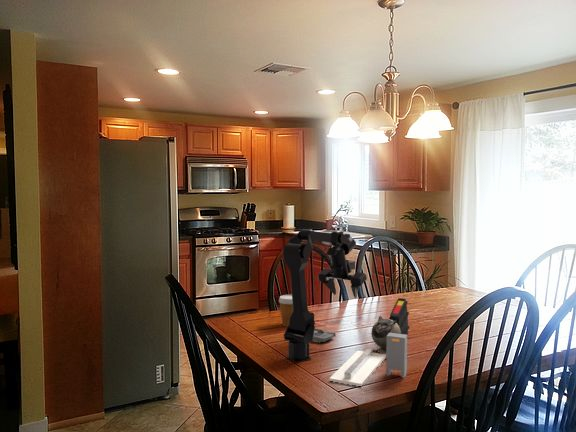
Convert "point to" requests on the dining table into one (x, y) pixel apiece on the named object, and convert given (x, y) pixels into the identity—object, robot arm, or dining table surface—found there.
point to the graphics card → (321, 335)
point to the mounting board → (362, 373)
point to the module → (396, 353)
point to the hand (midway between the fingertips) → (345, 295)
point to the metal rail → (358, 364)
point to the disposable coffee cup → (286, 308)
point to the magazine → (401, 315)
